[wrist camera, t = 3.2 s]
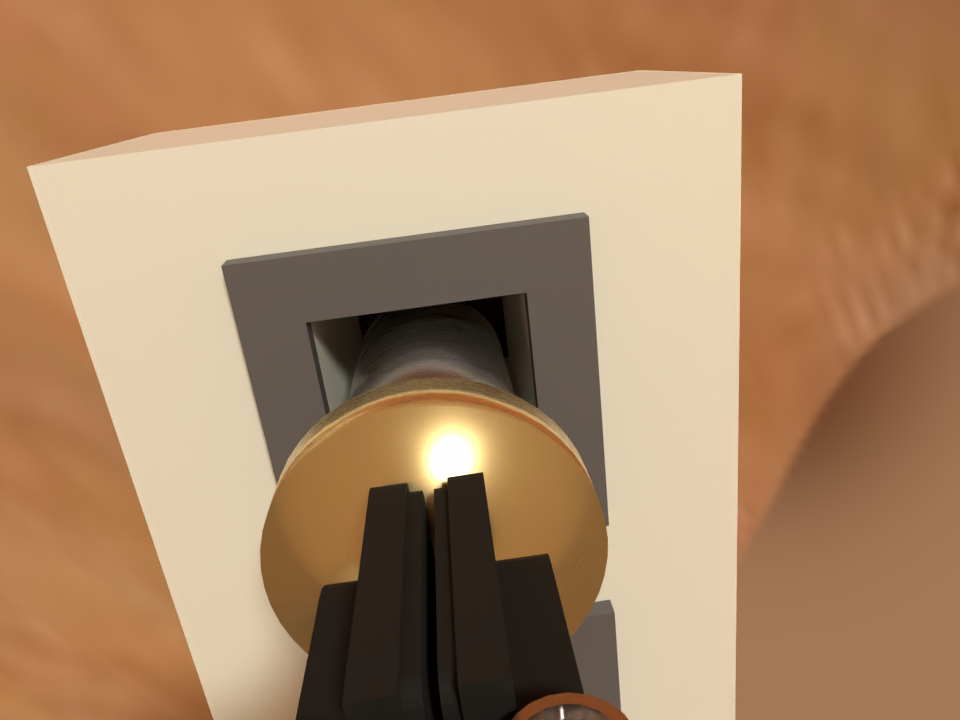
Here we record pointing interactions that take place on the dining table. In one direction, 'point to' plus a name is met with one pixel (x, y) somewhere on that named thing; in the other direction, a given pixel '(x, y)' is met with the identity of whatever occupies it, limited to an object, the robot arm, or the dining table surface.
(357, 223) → the socket block
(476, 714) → the robot arm
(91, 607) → the dining table surface
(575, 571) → the brass-capped peg
